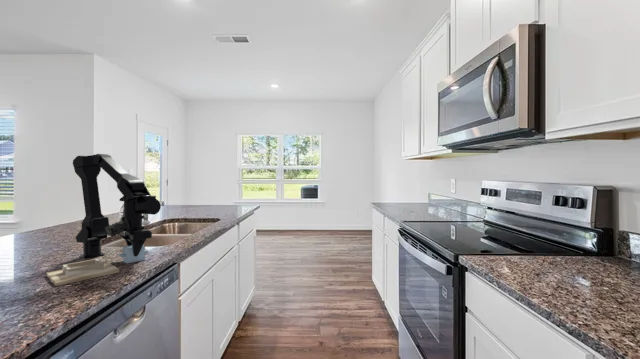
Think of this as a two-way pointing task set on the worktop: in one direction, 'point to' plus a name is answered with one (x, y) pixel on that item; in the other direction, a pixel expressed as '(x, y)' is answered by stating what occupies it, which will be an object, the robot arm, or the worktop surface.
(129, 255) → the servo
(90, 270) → the chassis pocket
